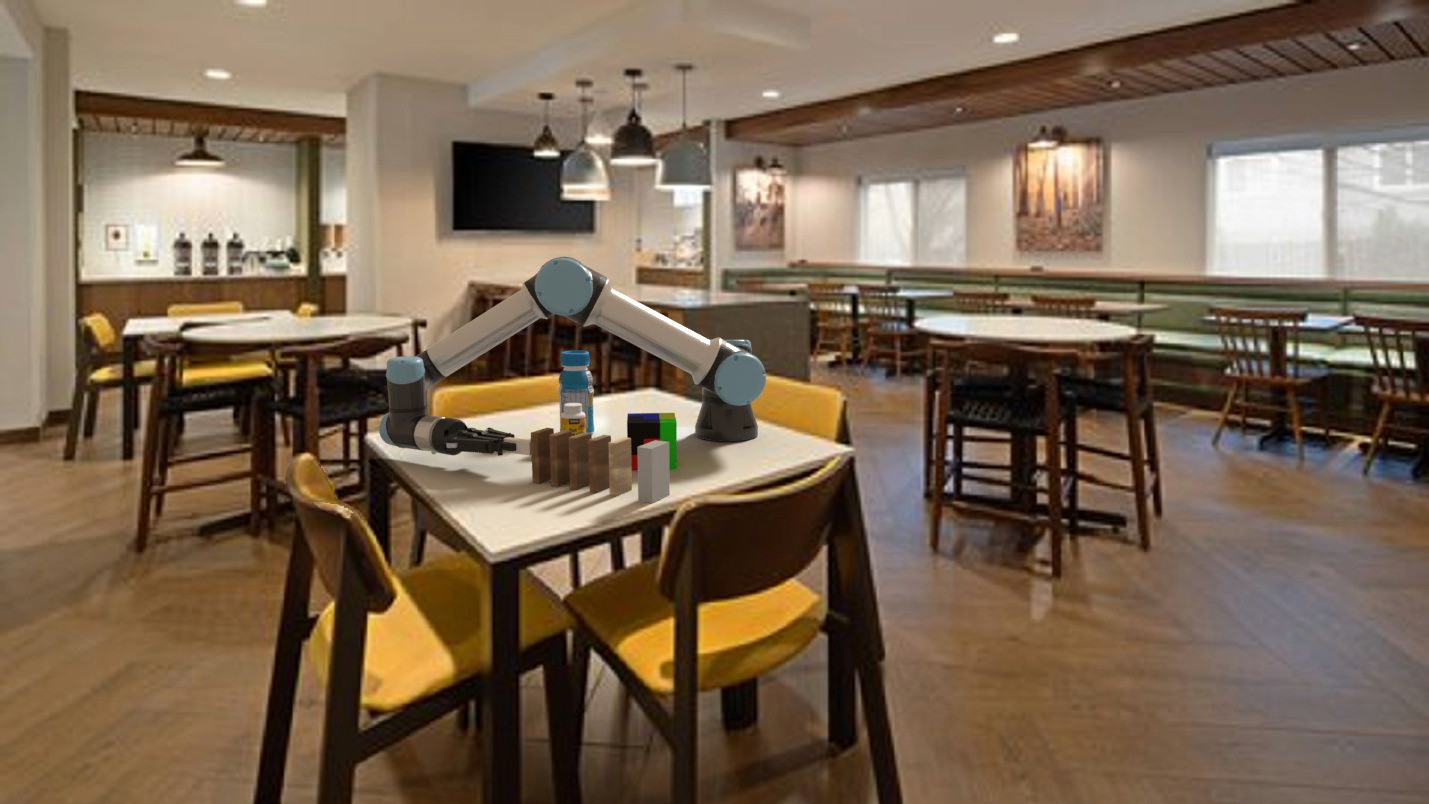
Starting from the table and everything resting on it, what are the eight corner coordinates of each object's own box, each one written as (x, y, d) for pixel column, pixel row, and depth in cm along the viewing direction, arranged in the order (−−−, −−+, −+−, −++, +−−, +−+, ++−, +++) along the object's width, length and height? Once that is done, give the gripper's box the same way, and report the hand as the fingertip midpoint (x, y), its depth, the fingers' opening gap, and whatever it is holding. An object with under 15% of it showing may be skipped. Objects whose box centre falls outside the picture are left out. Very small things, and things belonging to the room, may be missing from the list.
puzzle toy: (628, 459, 189) (627, 413, 187) (674, 458, 190) (674, 412, 188) (627, 471, 179) (627, 423, 177) (676, 470, 180) (676, 422, 178)
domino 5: (609, 495, 162) (608, 442, 160) (624, 488, 166) (623, 437, 164) (616, 496, 161) (615, 443, 159) (631, 489, 165) (631, 438, 164)
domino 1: (532, 482, 170) (530, 432, 168) (548, 476, 174) (547, 427, 173) (539, 484, 169) (537, 433, 167) (555, 477, 174) (553, 428, 172)
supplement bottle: (567, 453, 194) (566, 407, 192) (557, 448, 198) (555, 403, 196) (590, 449, 197) (589, 404, 195) (580, 444, 201) (578, 401, 199)
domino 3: (570, 489, 166) (568, 437, 164) (585, 482, 170) (584, 432, 168) (577, 490, 165) (575, 438, 163) (592, 483, 170) (591, 433, 168)
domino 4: (589, 492, 164) (588, 439, 162) (605, 485, 168) (603, 434, 166) (596, 493, 163) (595, 440, 161) (612, 486, 167) (610, 435, 166)
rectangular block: (638, 501, 158) (637, 446, 156) (655, 492, 164) (655, 440, 162) (652, 503, 157) (651, 448, 155) (669, 494, 162) (669, 442, 160)
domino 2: (551, 485, 168) (549, 434, 166) (567, 479, 172) (565, 429, 171) (557, 487, 167) (556, 435, 165) (573, 480, 172) (572, 430, 170)
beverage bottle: (570, 439, 206) (568, 355, 203) (553, 433, 213) (550, 351, 209) (601, 434, 212) (599, 352, 208) (583, 429, 218) (581, 349, 214)
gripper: (466, 446, 189) (553, 459, 178) (420, 459, 178) (510, 474, 167) (464, 412, 187) (552, 423, 177) (417, 423, 176) (508, 435, 165)
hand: (532, 448), depth 172 cm, fingers closed
